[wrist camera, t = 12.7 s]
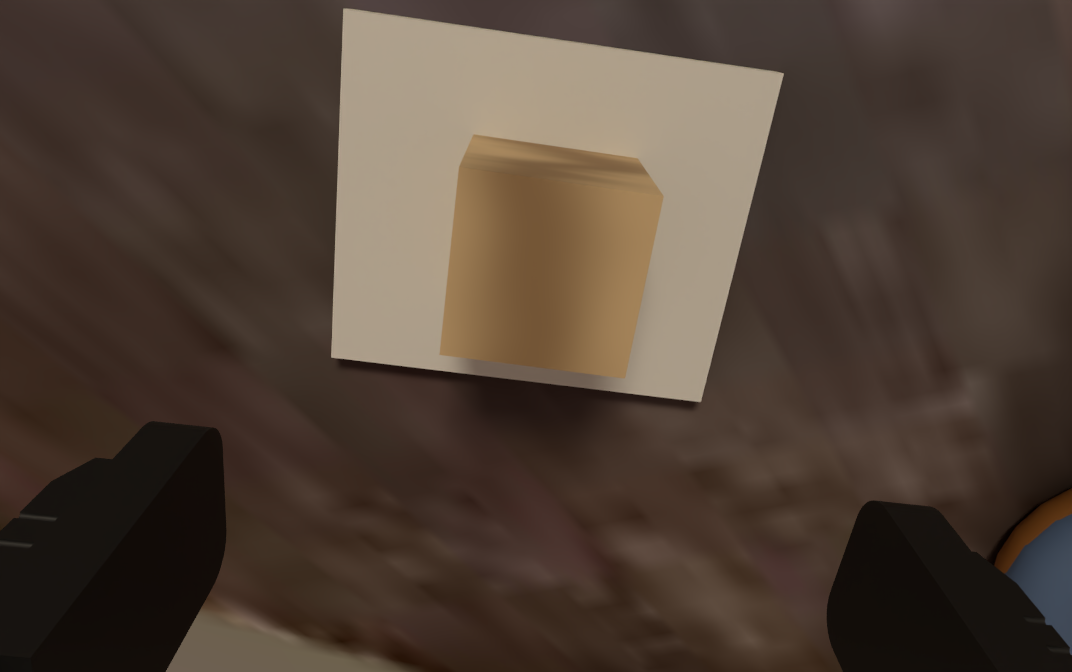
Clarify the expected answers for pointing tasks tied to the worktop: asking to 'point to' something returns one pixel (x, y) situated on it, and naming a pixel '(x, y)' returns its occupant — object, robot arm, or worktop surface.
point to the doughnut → (1044, 561)
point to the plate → (550, 119)
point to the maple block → (548, 256)
